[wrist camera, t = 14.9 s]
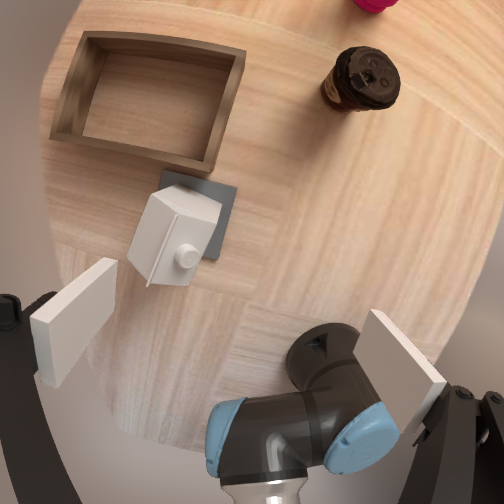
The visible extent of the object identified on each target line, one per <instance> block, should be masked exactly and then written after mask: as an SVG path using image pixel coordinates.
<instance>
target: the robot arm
mask: <svg viewBox="0 0 504 504" xmlns="http://www.w3.org/2000/svg"><path fill="white" fill-rule="evenodd" d="M117 264H118V260H114V259H109V258H105V257H104V258H102V259H101V260H100V261H98V262H97V263H96V264H94V265H93V266H92V267H90V268H89V269H88V270H86V271H85V272H84V273H83V274H81V275H80V276H79V277H77V278H76V279H75V280H74V281H72V282H71V283H70V284H69V285H67V286H66V287H65V288H63V289H62V290H61V291H60V292H59V293H57V292H54V291H52V292H50V293H47V294H44V295H42V296H41V297H40V298H39V299H37V301H35V302H33V303H32V304H31V305H30V306H28V307H27V308H26V309H25V310H23V311H21V302H20V300H19V298H17V297H16V296H14V295H10V294H0V440H1V445H2V448H3V453H4V457H5V461H6V465H7V468H8V472H9V476H10V479H11V482H12V485H13V488H14V491H15V494H16V497H17V500H18V503H19V504H82V502H81V500H80V498H79V496H78V494H77V492H76V490H75V488H74V486H73V484H72V482H71V480H70V478H69V476H68V474H67V472H66V469H65V467H64V465H63V462H62V460H61V458H60V455H59V453H58V451H57V448H56V445H55V443H54V440H53V438H52V435H51V432H50V430H49V426H48V424H47V421H46V418H45V415H44V411H43V408H42V405H41V402H40V398H39V395H38V391H37V388H36V384H35V380H34V376H33V375H34V374H35V373H36V372H37V370H38V374H39V378H40V382H41V383H44V384H46V385H49V386H51V387H53V388H56V389H58V388H59V386H60V385H61V383H62V382H63V380H64V379H65V378H66V376H67V374H68V373H69V372H70V370H71V369H72V367H73V366H74V364H75V363H76V362H77V360H78V359H79V358H80V356H81V355H82V353H83V352H84V351H85V349H86V348H87V346H88V345H89V344H90V342H91V341H92V340H93V338H94V337H95V335H96V334H97V333H98V331H99V330H100V329H101V327H102V326H103V325H104V323H105V322H106V321H107V319H108V318H109V317H110V316H111V314H112V313H113V312H114V310H115V291H116V276H117ZM286 365H287V371H288V374H289V378H290V380H291V382H292V383H293V385H294V386H295V387H296V388H297V389H298V390H300V391H301V392H294V393H287V394H280V395H272V396H264V397H254V398H248V397H243V398H242V399H237V400H230V401H223V402H220V403H218V404H217V405H215V407H214V408H213V409H212V411H211V414H210V416H209V420H208V424H207V430H206V439H205V456H206V458H207V459H206V467H207V471H208V473H209V475H211V476H212V477H215V478H220V484H221V489H222V490H223V491H225V492H226V493H227V494H229V495H230V496H231V497H232V498H233V500H234V504H300V498H299V491H300V489H301V488H302V486H303V485H304V484H305V483H306V482H307V480H308V474H307V468H308V467H312V466H317V465H324V466H325V468H326V469H327V470H328V471H329V472H330V473H333V474H340V475H345V474H351V473H355V472H357V471H360V470H362V469H365V468H366V467H369V466H370V465H372V464H374V463H375V462H377V461H378V460H380V459H381V458H382V457H383V456H384V455H385V454H387V453H388V452H389V451H390V450H391V448H392V447H393V446H394V445H395V443H396V442H397V440H398V438H399V436H400V433H401V434H407V433H414V432H415V431H416V430H417V429H418V427H419V426H420V424H421V423H422V422H423V424H424V425H425V429H424V431H423V432H422V433H421V435H420V436H419V437H418V439H417V440H416V441H415V443H414V444H413V445H412V446H413V447H414V446H415V445H416V444H418V447H417V450H416V453H415V457H414V460H413V463H412V466H411V469H410V472H409V475H408V478H407V481H406V483H405V486H404V489H403V491H402V494H401V497H400V499H399V502H398V504H504V398H503V397H502V396H501V395H500V394H498V393H497V392H493V391H488V392H486V394H485V395H484V397H483V399H482V400H477V399H475V398H474V395H473V394H472V393H471V392H470V391H469V390H468V389H466V388H464V387H461V386H451V385H450V384H449V383H448V382H447V381H446V379H445V378H444V377H443V376H442V375H441V374H440V373H439V372H438V370H437V369H436V368H434V366H433V365H432V364H431V363H430V362H429V360H427V359H426V358H425V357H424V356H423V355H422V353H421V352H420V351H419V350H418V349H417V348H416V347H415V346H414V345H413V344H412V343H411V342H410V340H409V339H408V338H407V337H406V336H405V335H404V334H403V333H402V332H401V331H400V330H399V329H398V328H397V327H396V326H395V324H394V323H393V322H392V321H391V320H390V319H389V318H388V317H387V316H386V315H385V314H384V313H383V312H382V311H379V310H372V309H370V310H369V313H368V316H367V318H366V321H365V323H364V326H363V328H362V331H361V333H359V332H358V331H357V330H356V329H355V328H353V327H351V326H349V325H347V324H342V323H328V324H323V325H320V326H317V327H315V328H312V329H310V330H309V331H307V332H306V333H304V334H303V335H302V336H300V337H299V338H298V339H297V340H296V341H295V343H294V344H293V345H292V347H291V349H290V351H289V353H288V356H287V362H286ZM488 431H489V435H488V438H487V439H486V441H485V442H484V443H483V441H482V439H483V438H484V436H485V435H486V434H487V432H488Z"/></svg>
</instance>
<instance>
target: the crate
mask: <svg viewBox="0 0 504 504" xmlns="http://www.w3.org/2000/svg"><path fill="white" fill-rule="evenodd" d="M246 52H247V51H245V50H241V49H237V48H232V47H228V46H223V45H219V44H214V43H208V42H203V41H198V40H192V39H185V38H179V37H172V36H164V35H155V34H145V33H133V32H117V31H84V32H83V35H82V37H81V39H80V42H79V44H78V47H77V49H76V52H75V54H74V57H73V60H72V62H71V65H70V68H69V71H68V74H67V76H66V79H65V83H64V86H63V89H62V92H61V95H60V99H59V102H58V106H57V109H56V113H55V117H54V121H53V125H52V129H51V133H50V137H49V139H51V140H57V141H64V142H69V143H75V144H81V145H87V146H92V147H97V148H103V149H108V150H113V151H118V152H123V153H128V154H133V155H137V156H142V157H146V158H151V159H156V160H160V161H164V162H169V163H173V164H177V165H181V166H186V167H190V168H194V169H198V170H202V171H206V172H211V171H213V170H214V166H215V163H216V159H217V156H218V152H219V149H220V145H221V142H222V139H223V135H224V132H225V128H226V125H227V122H228V119H229V115H230V112H231V109H232V106H233V102H234V99H235V96H236V93H237V90H238V87H239V84H240V81H241V78H242V75H243V72H244V67H245V59H246ZM108 53H110V54H122V55H133V56H142V57H150V58H158V59H165V60H171V61H177V62H183V63H189V64H194V65H200V66H205V67H209V68H214V69H219V70H223V71H227V72H230V75H229V78H228V81H227V84H226V87H225V90H224V93H223V97H222V100H221V103H220V106H219V109H218V112H217V116H216V119H215V122H214V125H213V129H212V132H211V136H210V139H209V142H208V146H207V149H206V153H205V156H204V160H203V161H201V160H197V159H192V158H188V157H184V156H180V155H176V154H171V153H167V152H162V151H158V150H153V149H149V148H144V147H139V146H134V145H129V144H124V143H119V142H114V141H108V140H103V139H97V138H92V137H86V136H82V134H83V130H84V126H85V122H86V118H87V115H88V111H89V107H90V104H91V101H92V97H93V94H94V91H95V88H96V85H97V82H98V79H99V76H100V73H101V70H102V67H103V65H104V62H105V59H106V57H107V54H108Z"/></svg>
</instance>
